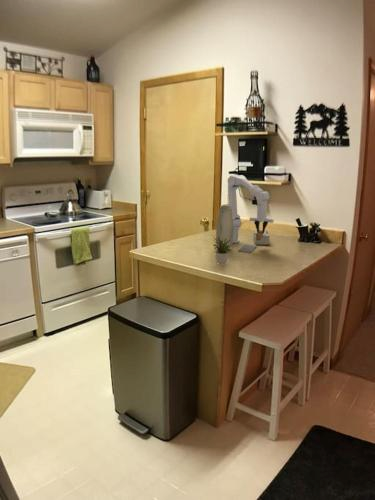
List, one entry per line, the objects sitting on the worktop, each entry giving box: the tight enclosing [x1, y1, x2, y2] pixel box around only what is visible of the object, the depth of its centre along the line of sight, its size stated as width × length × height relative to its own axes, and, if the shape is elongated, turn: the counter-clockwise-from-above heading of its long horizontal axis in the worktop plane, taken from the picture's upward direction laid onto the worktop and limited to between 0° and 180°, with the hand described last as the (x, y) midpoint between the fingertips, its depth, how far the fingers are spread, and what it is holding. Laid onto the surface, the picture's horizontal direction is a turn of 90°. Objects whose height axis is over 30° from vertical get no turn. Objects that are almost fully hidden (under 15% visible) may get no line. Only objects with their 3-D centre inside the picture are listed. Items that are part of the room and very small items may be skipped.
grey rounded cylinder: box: [215, 204, 234, 249], centre depth 246 cm, size 10×10×28 cm
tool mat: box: [237, 243, 258, 254], centre depth 253 cm, size 8×19×1 cm, turn 159°
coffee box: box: [253, 229, 270, 246], centre depth 270 cm, size 9×6×16 cm
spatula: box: [256, 229, 268, 240], centre depth 249 cm, size 14×5×4 cm, turn 159°
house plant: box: [210, 235, 234, 265], centre depth 218 cm, size 14×14×16 cm
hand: (260, 233), depth 249 cm, fingers closed on spatula, 2 cm apart
